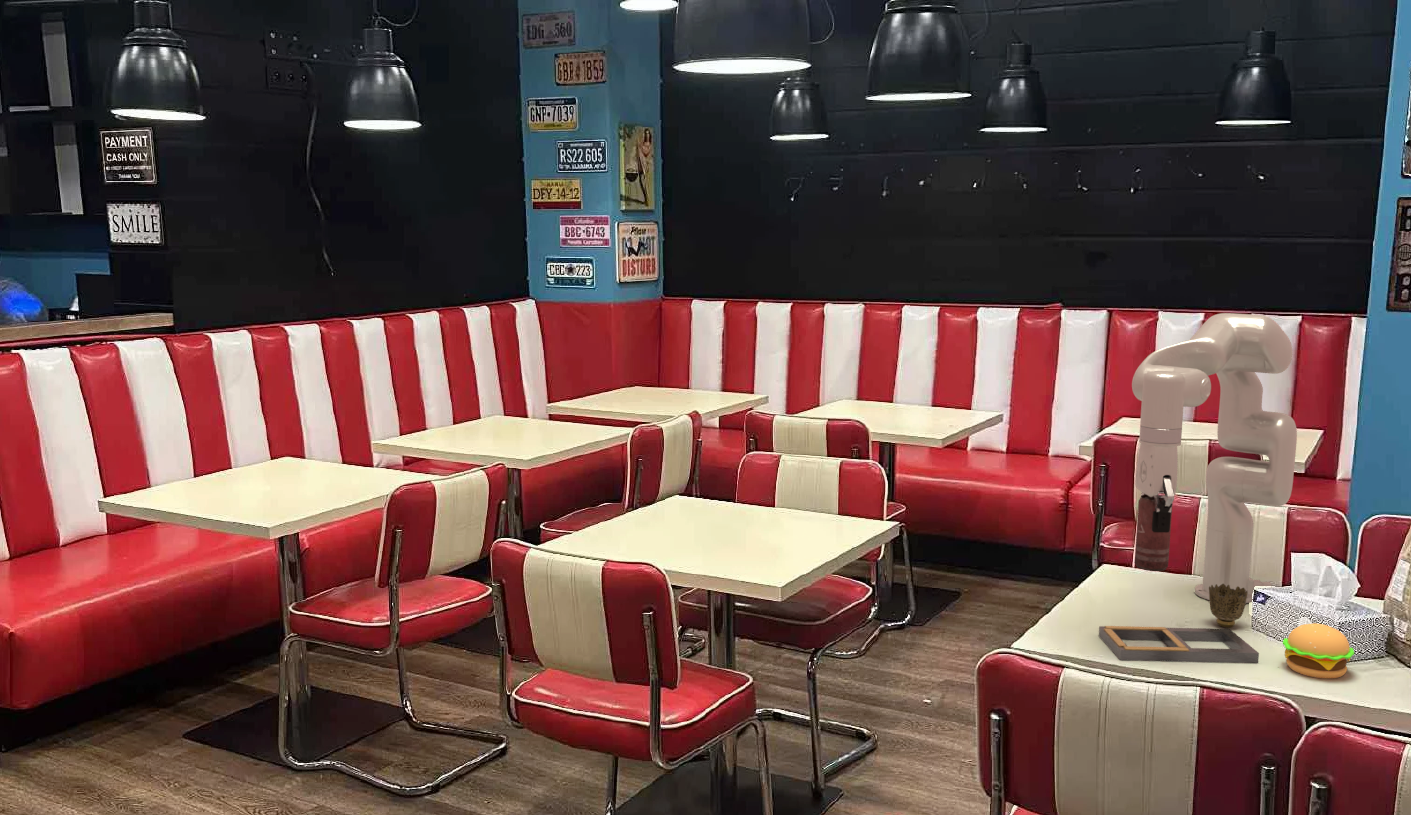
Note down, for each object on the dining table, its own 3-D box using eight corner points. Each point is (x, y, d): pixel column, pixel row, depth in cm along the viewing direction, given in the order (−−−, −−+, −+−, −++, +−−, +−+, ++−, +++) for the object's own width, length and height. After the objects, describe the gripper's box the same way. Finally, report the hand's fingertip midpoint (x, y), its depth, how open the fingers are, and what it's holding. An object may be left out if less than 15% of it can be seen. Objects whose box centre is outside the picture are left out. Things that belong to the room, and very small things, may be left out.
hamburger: (1268, 667, 229) (1272, 623, 228) (1300, 654, 237) (1303, 611, 235) (1333, 687, 220) (1337, 641, 219) (1363, 673, 227) (1368, 628, 226)
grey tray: (1228, 638, 245) (1229, 627, 245) (1258, 663, 231) (1258, 652, 231) (1098, 635, 246) (1099, 625, 246) (1120, 660, 232) (1120, 649, 232)
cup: (1250, 625, 253) (1253, 588, 252) (1237, 634, 248) (1240, 596, 247) (1214, 617, 258) (1216, 581, 257) (1200, 625, 253) (1203, 588, 252)
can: (1151, 573, 232) (1156, 501, 230) (1127, 564, 238) (1132, 494, 236) (1175, 570, 235) (1180, 499, 233) (1151, 561, 241) (1156, 492, 238)
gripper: (1126, 428, 241) (1120, 516, 244) (1156, 443, 224) (1149, 538, 227) (1164, 428, 241) (1158, 517, 244) (1197, 444, 224) (1190, 539, 227)
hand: (1154, 526), depth 235 cm, fingers closed on can, 6 cm apart
